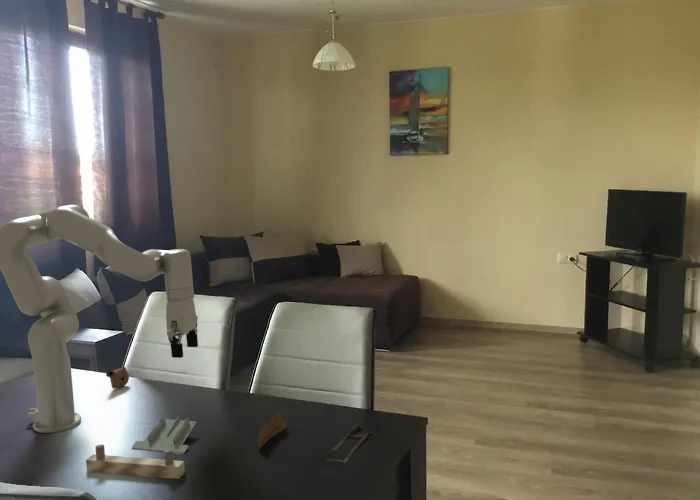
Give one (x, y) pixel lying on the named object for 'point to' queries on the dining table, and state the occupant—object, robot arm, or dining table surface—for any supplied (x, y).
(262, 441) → the wood plank
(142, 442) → the metal bracket
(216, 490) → the dining table surface
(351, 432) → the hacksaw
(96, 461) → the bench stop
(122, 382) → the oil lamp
